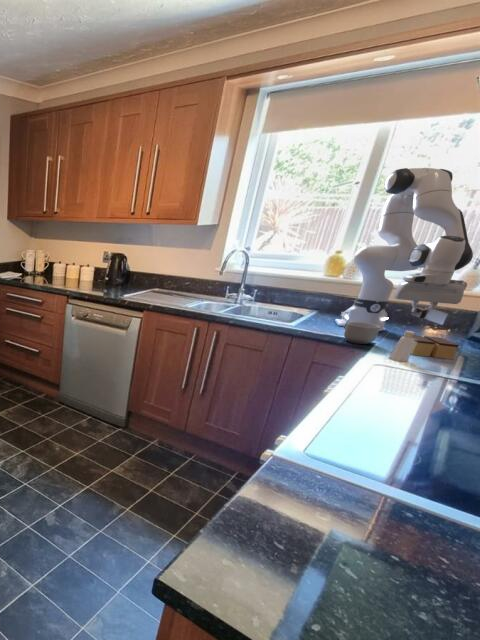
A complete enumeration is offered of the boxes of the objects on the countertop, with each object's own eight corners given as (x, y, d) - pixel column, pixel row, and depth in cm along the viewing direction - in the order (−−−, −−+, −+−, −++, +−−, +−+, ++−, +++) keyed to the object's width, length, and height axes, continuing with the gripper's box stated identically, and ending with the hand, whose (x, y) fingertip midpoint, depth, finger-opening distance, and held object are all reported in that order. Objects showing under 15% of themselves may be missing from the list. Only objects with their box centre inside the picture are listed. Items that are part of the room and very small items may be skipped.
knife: (409, 314, 180) (414, 303, 179) (417, 314, 180) (421, 304, 178) (438, 324, 161) (444, 313, 160) (447, 325, 161) (452, 314, 159)
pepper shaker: (409, 362, 158) (422, 334, 154) (390, 360, 160) (402, 331, 156) (405, 359, 162) (418, 331, 158) (386, 356, 165) (398, 328, 160)
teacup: (379, 346, 178) (387, 328, 175) (350, 344, 180) (357, 326, 177) (358, 338, 190) (365, 320, 188) (331, 336, 192) (337, 318, 190)
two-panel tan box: (397, 347, 179) (403, 333, 176) (434, 351, 174) (440, 337, 172) (412, 354, 168) (418, 340, 166) (451, 359, 164) (458, 345, 162)
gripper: (464, 279, 170) (448, 313, 175) (399, 275, 177) (385, 308, 182) (474, 281, 164) (457, 316, 170) (406, 277, 172) (392, 310, 177)
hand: (419, 312), depth 176 cm, fingers closed on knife, 2 cm apart
